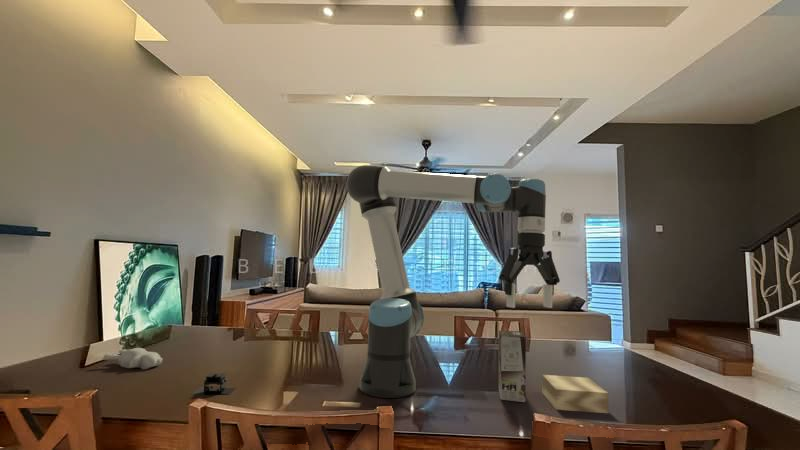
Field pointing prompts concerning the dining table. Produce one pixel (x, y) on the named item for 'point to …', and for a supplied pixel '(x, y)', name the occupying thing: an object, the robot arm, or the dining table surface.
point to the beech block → (575, 394)
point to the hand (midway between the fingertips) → (529, 307)
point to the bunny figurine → (136, 358)
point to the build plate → (207, 390)
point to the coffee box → (512, 366)
